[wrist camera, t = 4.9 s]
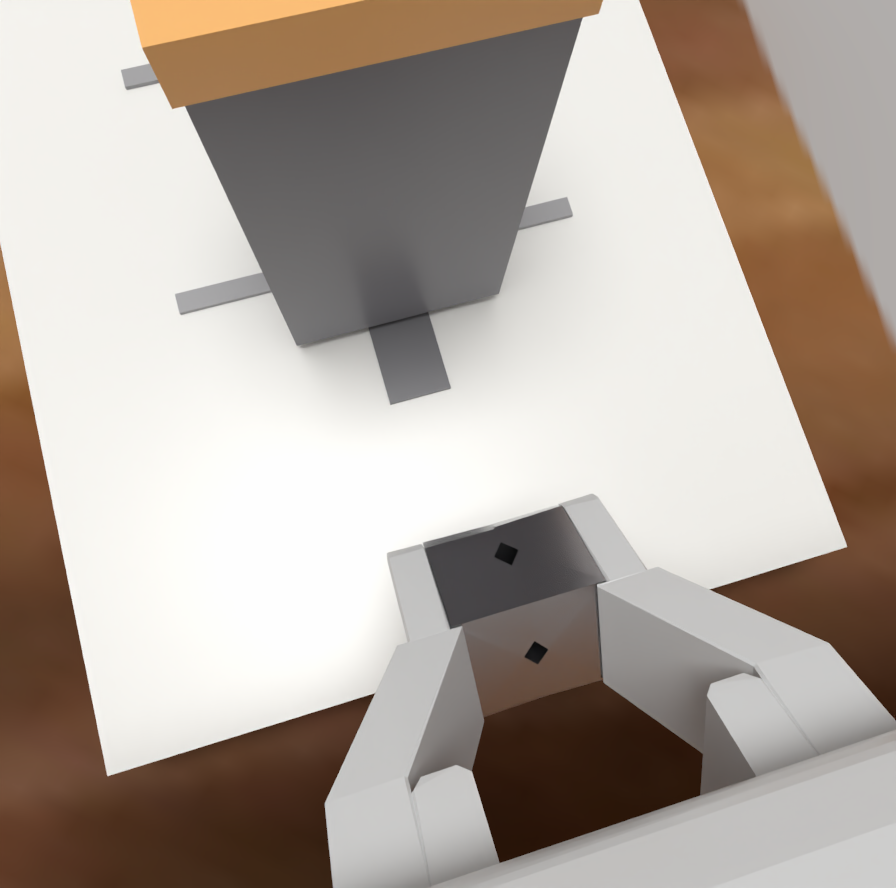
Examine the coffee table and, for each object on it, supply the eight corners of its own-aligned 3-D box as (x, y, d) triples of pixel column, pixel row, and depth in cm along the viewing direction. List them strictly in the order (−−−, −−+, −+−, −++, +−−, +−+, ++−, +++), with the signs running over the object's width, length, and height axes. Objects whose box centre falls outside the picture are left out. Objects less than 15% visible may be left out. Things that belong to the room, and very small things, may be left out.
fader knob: (505, 296, 14) (621, -54, 7) (292, 352, 14) (142, 48, 6) (458, 151, 15) (513, -338, 7) (252, 200, 15) (66, -261, 7)
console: (794, 551, 16) (850, 546, 14) (147, 751, 15) (105, 777, 13) (435, -423, 21) (437, -534, 19) (-83, -342, 19) (-141, -451, 17)
